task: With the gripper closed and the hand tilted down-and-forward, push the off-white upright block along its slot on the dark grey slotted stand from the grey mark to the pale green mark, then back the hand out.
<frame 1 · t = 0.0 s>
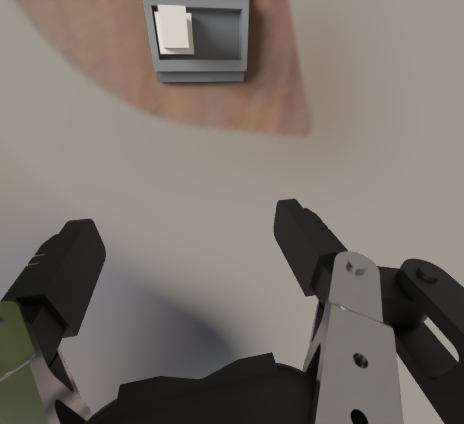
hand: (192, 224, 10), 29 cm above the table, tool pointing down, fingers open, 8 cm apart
block: (174, 31, 24), point 6 cm above the table, slide at 0.0 cm
grey slotted stand: (198, 36, 29), on the table
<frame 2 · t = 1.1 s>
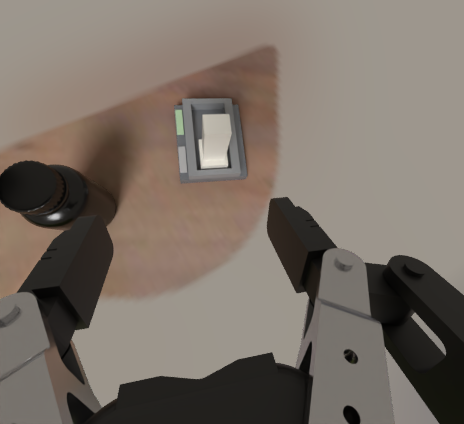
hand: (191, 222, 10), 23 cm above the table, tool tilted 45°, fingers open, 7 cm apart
block: (214, 143, 29), point 6 cm above the table, slide at 0.0 cm
supplement bottle: (92, 210, 31), on the table
grey slotted stand: (210, 145, 35), on the table
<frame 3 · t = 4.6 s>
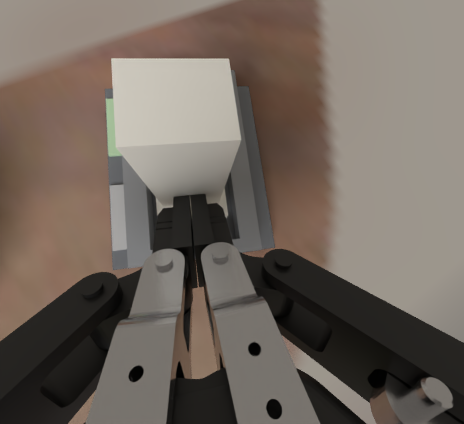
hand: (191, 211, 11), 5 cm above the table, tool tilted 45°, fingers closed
block: (187, 166, 10), point 6 cm above the table, slide at 1.0 cm, touching gripper
grey slotted stand: (189, 174, 16), on the table
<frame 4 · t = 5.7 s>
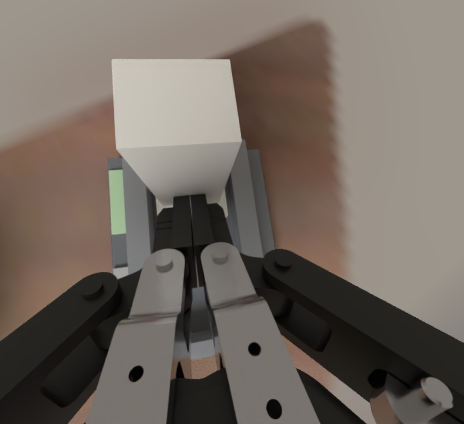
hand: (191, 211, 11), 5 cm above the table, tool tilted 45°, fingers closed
block: (187, 166, 10), point 6 cm above the table, slide at 6.1 cm, touching gripper
grey slotted stand: (197, 243, 15), on the table
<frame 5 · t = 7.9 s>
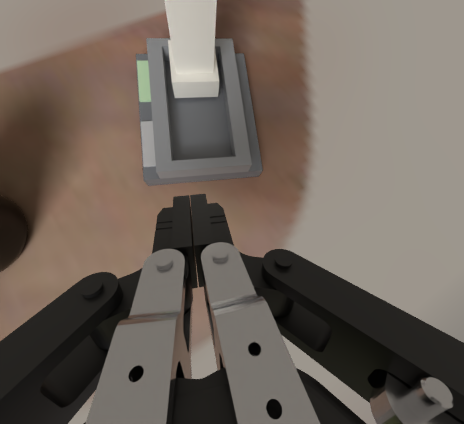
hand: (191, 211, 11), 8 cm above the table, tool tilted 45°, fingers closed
block: (191, 29, 16), point 6 cm above the table, slide at 6.0 cm
grey slotted stand: (198, 121, 21), on the table
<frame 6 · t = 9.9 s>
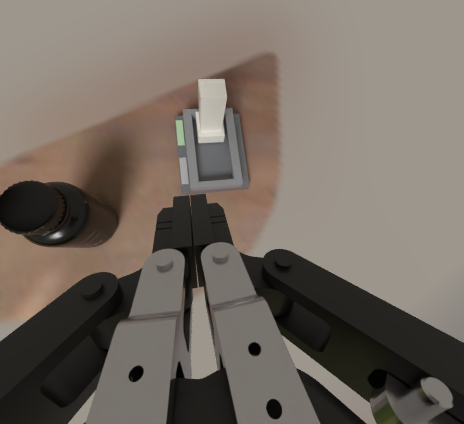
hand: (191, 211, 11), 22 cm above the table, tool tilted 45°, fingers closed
block: (210, 112, 29), point 6 cm above the table, slide at 6.0 cm
supplement bottle: (93, 223, 31), on the table
grey slotted stand: (211, 154, 35), on the table
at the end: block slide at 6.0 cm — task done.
